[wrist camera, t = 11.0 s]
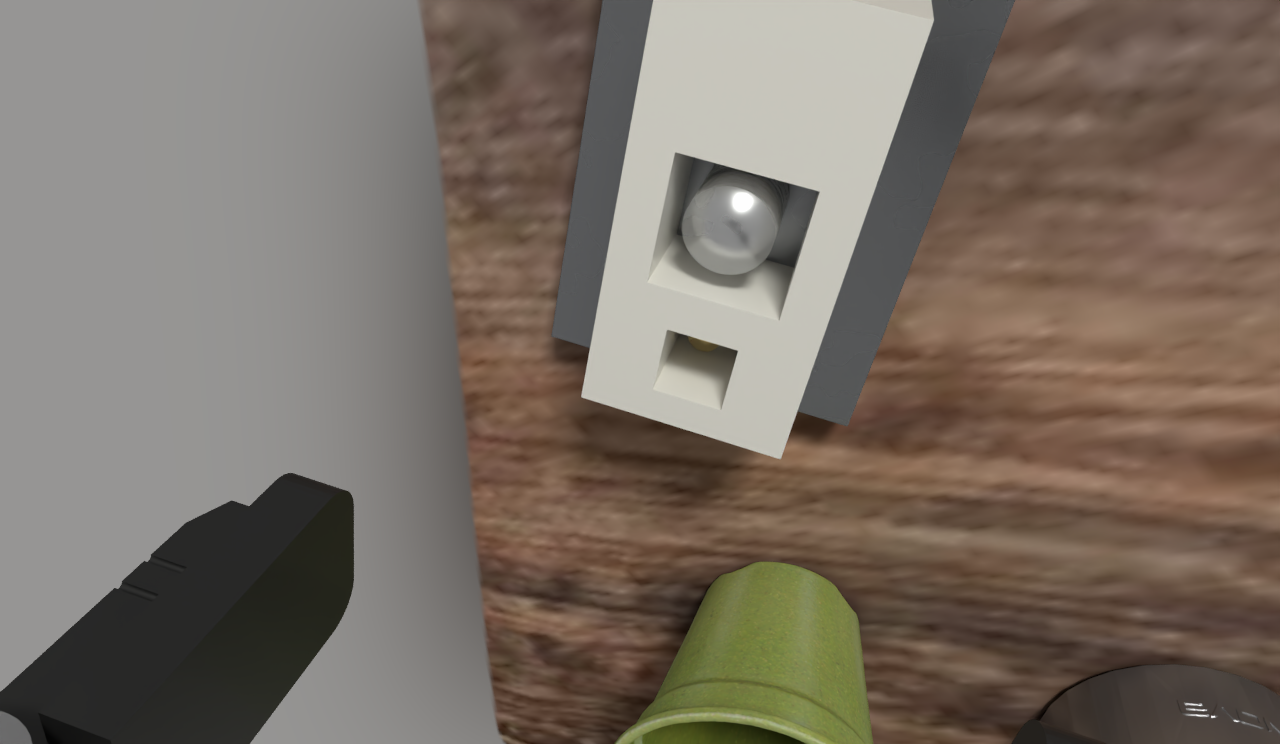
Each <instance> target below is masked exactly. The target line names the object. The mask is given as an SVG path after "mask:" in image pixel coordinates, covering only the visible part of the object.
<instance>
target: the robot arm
mask: <svg viewBox="0 0 1280 744" xmlns="http://www.w3.org/2000/svg"><path fill="white" fill-rule="evenodd" d="M353 505H354V504H353V498H352V495H351V494H350V493H349V492H348V491H345V490H342V489H339V488H336V487H333V486H330V485H327V484H324V483H321V482H318V481H315V480H312V479H309V478H306V477H303V476H300V475H296V474H293V473H288V474H285V475H283V476H281V477H280V478H278V479H277V480H276V481H275V482H274V483H273V484H272V485H271V486H270V487H269V488H268V489H267V490H266V491H265V492H264V493H263V494H261V495H260V496H259V497H258V498H257V500H255V501H254V502H253V503H252V504H251V505H250V506H246V505H243V504H240V503H237V502H234V501H230V502H228V503H226V504H224V505H222V506H220V507H218V508H216V509H213V510H211V511H209V512H207V513H205V514H203V515H201V516H199V517H197V518H195V519H193V520H191V521H189V522H187V523H185V524H184V525H183V526H182V527H181V528H180V529H179V530H178V531H177V532H175V533H174V534H173V535H172V536H171V537H170V538H169V539H168V540H167V541H166V542H165V543H163V544H162V545H161V546H160V547H159V548H158V549H157V550H156V551H155V552H154V553H152V554H151V558H150V560H149V561H148V562H145V561H144V562H143V563H141V564H140V565H139V566H138V567H137V568H136V569H135V570H134V571H133V572H132V573H131V574H130V575H128V576H127V577H126V578H125V579H124V580H123V581H122V585H121V586H120V588H119V589H116V588H114V589H113V590H112V591H111V592H110V593H109V594H108V595H106V596H105V597H104V598H103V599H102V600H101V601H100V602H99V603H98V604H97V605H96V606H94V607H93V608H92V609H91V610H90V611H89V612H88V613H87V614H86V615H85V616H84V617H82V618H81V619H80V620H79V621H78V622H77V623H76V624H75V625H74V626H72V627H71V628H70V629H69V630H68V631H67V632H66V633H65V634H64V635H63V636H62V637H60V638H59V639H58V640H57V641H56V642H55V643H54V644H53V645H52V646H51V647H50V648H48V649H47V650H46V651H45V652H44V653H43V654H42V655H41V656H40V657H39V658H37V659H36V660H35V661H34V662H33V663H32V664H31V665H30V666H29V667H28V668H26V669H25V670H24V671H23V672H22V673H21V674H20V675H19V676H18V677H17V678H15V679H14V680H13V681H12V682H11V683H10V684H9V685H8V686H7V687H6V688H5V689H3V690H2V691H1V692H0V744H250V742H251V741H252V740H253V739H254V737H255V736H256V735H257V733H258V732H259V731H260V729H261V728H262V726H263V725H264V724H265V723H266V721H267V720H268V719H269V717H270V716H271V715H272V713H273V712H274V711H275V709H276V708H277V706H278V705H279V704H280V703H281V701H282V700H283V698H284V697H285V696H286V694H287V693H288V692H289V690H290V689H291V688H292V687H293V685H294V684H295V682H296V681H297V680H298V679H299V677H300V676H301V674H302V673H303V672H304V671H305V669H306V668H307V667H308V665H309V664H310V663H311V661H312V660H313V659H314V657H315V656H316V655H317V653H318V652H319V650H320V649H321V648H322V646H323V645H324V644H325V642H326V641H327V640H328V639H329V637H330V636H331V635H332V633H333V632H334V630H335V629H336V627H337V626H338V624H339V622H340V620H341V619H342V617H343V615H344V612H345V610H346V608H347V605H348V603H349V599H350V596H351V592H352V588H353V581H354V506H353ZM1012 744H1280V696H1279V695H1277V694H1276V693H1274V692H1272V691H1271V690H1269V689H1268V688H1266V687H1265V686H1262V685H1260V684H1258V683H1255V682H1253V681H1250V680H1248V679H1245V678H1243V677H1241V676H1238V675H1235V674H1231V673H1227V672H1223V671H1218V670H1214V669H1210V668H1206V667H1196V666H1186V665H1176V664H1172V665H1143V666H1138V667H1132V668H1126V669H1120V670H1114V671H1111V672H1108V673H1105V674H1102V675H1099V676H1096V677H1093V678H1090V679H1088V680H1086V681H1084V682H1082V683H1080V684H1079V685H1077V686H1075V687H1073V688H1071V689H1069V690H1068V691H1066V692H1065V693H1064V694H1063V695H1062V696H1060V697H1059V698H1058V699H1057V700H1056V701H1055V702H1053V703H1052V704H1051V705H1050V706H1049V708H1048V709H1047V711H1046V712H1045V714H1044V715H1043V717H1042V718H1041V720H1040V721H1038V720H1035V719H1033V720H1030V721H1028V722H1027V723H1026V724H1024V726H1023V727H1022V728H1021V730H1020V731H1019V733H1018V734H1017V736H1016V737H1015V739H1014V740H1013V742H1012Z"/></svg>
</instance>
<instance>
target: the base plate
mask: <svg viewBox="0 0 1280 744" xmlns="http://www.w3.org/2000/svg"><path fill="white" fill-rule="evenodd" d="M931 1H932V9H933V16H934V22H933V25H932V28H931V31H930V33H929V36H928V39H927V42H926V45H925V48H924V51H923V53H922V56H921V59H920V62H919V65H918V68H917V71H916V73H915V76H914V79H913V82H912V85H911V88H910V91H909V93H908V96H907V99H906V102H905V105H904V108H903V111H902V113H901V116H900V119H899V122H898V125H897V128H896V131H895V134H894V136H893V139H892V142H891V145H890V148H889V151H888V154H887V156H886V159H885V162H884V165H883V168H882V171H881V174H880V176H879V179H878V182H877V185H876V188H875V191H874V194H873V196H872V199H871V202H870V205H869V208H868V211H867V214H866V216H865V219H864V222H863V225H862V228H861V231H860V234H859V236H858V239H857V242H856V245H855V248H854V251H853V254H852V257H851V259H850V262H849V265H848V268H847V271H846V274H845V277H844V279H843V282H842V285H841V288H840V291H839V294H838V297H837V299H836V302H835V305H834V308H833V311H832V314H831V317H830V319H829V322H828V325H827V328H826V331H825V334H824V337H823V339H822V342H821V345H820V348H819V351H818V354H817V357H816V360H815V362H814V365H813V368H812V371H811V374H810V377H809V380H808V382H807V385H806V388H805V391H804V394H803V397H802V400H801V402H800V405H799V408H798V412H802V413H805V414H808V415H812V416H815V417H818V418H821V419H825V420H828V421H831V422H835V423H838V424H841V425H844V426H848V424H849V421H850V419H851V416H852V413H853V411H854V408H855V406H856V403H857V401H858V398H859V396H860V393H861V391H862V388H863V385H864V383H865V380H866V378H867V375H868V373H869V370H870V368H871V365H872V363H873V360H874V357H875V355H876V352H877V350H878V347H879V345H880V342H881V340H882V337H883V335H884V332H885V330H886V327H887V324H888V322H889V319H890V317H891V314H892V312H893V309H894V307H895V304H896V302H897V299H898V296H899V294H900V291H901V289H902V286H903V284H904V281H905V279H906V276H907V274H908V271H909V268H910V266H911V263H912V261H913V258H914V256H915V253H916V251H917V248H918V246H919V243H920V241H921V238H922V235H923V233H924V230H925V228H926V225H927V223H928V220H929V218H930V215H931V213H932V210H933V207H934V205H935V202H936V200H937V197H938V195H939V192H940V190H941V187H942V185H943V182H944V180H945V177H946V174H947V172H948V169H949V167H950V164H951V162H952V159H953V157H954V154H955V152H956V149H957V146H958V144H959V141H960V139H961V136H962V134H963V131H964V129H965V126H966V124H967V121H968V118H969V116H970V113H971V111H972V108H973V106H974V103H975V101H976V98H977V96H978V93H979V91H980V88H981V85H982V83H983V80H984V78H985V75H986V73H987V70H988V68H989V65H990V63H991V60H992V57H993V55H994V52H995V50H996V47H997V45H998V42H999V40H1000V37H1001V35H1002V32H1003V29H1004V27H1005V24H1006V22H1007V19H1008V17H1009V14H1010V12H1011V9H1012V7H1013V4H1014V2H1015V0H931ZM652 4H653V0H603V2H602V9H601V15H600V22H599V28H598V35H597V42H596V48H595V55H594V61H593V68H592V74H591V81H590V87H589V94H588V101H587V107H586V114H585V120H584V127H583V133H582V140H581V146H580V153H579V160H578V166H577V173H576V179H575V186H574V192H573V199H572V205H571V212H570V219H569V225H568V232H567V238H566V245H565V251H564V258H563V264H562V271H561V278H560V284H559V291H558V297H557V304H556V310H555V317H554V323H553V330H552V337H555V338H559V339H562V340H565V341H569V342H572V343H575V344H578V345H582V346H585V347H588V348H590V346H591V340H592V335H593V329H594V324H595V318H596V313H597V307H598V302H599V296H600V291H601V285H602V280H603V274H604V269H605V263H606V258H607V252H608V247H609V241H610V236H611V230H612V225H613V219H614V214H615V208H616V203H617V197H618V192H619V186H620V181H621V175H622V170H623V164H624V159H625V153H626V148H627V142H628V137H629V131H630V125H631V120H632V114H633V109H634V103H635V98H636V92H637V87H638V81H639V76H640V70H641V65H642V59H643V54H644V48H645V43H646V37H647V32H648V26H649V21H650V15H651V10H652ZM817 193H818V191H816V190H812V189H808V188H805V187H801V186H797V185H794V184H790V183H786V182H783V181H779V180H775V179H772V178H768V177H764V176H761V175H757V174H753V173H750V172H746V171H742V170H739V169H735V168H731V167H728V166H724V165H720V164H717V163H713V162H709V161H706V160H702V159H698V158H695V157H694V159H693V164H692V168H691V173H690V177H689V181H688V186H687V190H686V195H685V199H684V204H683V208H682V212H681V217H680V221H679V226H678V230H677V235H680V236H683V239H684V243H685V245H686V248H687V249H688V251H689V253H690V254H691V256H692V257H693V258H694V259H695V260H696V261H697V262H698V263H699V264H700V265H702V266H703V267H705V268H706V269H708V270H710V271H713V272H715V273H719V274H724V275H737V274H742V273H746V272H748V271H751V270H753V269H754V268H756V267H758V266H759V265H760V264H761V263H762V262H763V261H764V260H768V261H772V262H775V263H779V264H782V265H786V266H790V267H793V268H794V267H795V263H796V260H797V257H798V254H799V251H800V247H801V244H802V241H803V238H804V235H805V231H806V228H807V225H808V222H809V219H810V215H811V212H812V209H813V206H814V203H815V199H816V196H817ZM688 339H689V342H690V343H691V345H692V346H693V347H694V348H696V349H698V350H700V351H705V352H708V351H712V350H714V349H716V348H717V347H718V346H719V345H717V344H714V343H711V342H707V341H704V340H701V339H697V338H694V337H690V336H688Z"/></svg>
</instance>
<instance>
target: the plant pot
mask: <svg viewBox="0 0 1280 744" xmlns="http://www.w3.org/2000/svg"><path fill="white" fill-rule="evenodd" d="M615 744H873V739H872V731H871V723H870V716H869V708H868V699H867V691H866V683H865V674H864V664H863V655H862V647H861V639H860V630H859V621H858V618H857V615H856V613H855V612H854V611H853V610H852V608H851V607H850V606H849V605H848V603H847V602H846V600H845V599H844V598H843V597H842V595H841V594H840V592H839V591H838V589H837V588H836V586H835V585H833V584H832V583H831V582H830V581H828V580H827V579H825V578H824V577H822V576H820V575H818V574H816V573H814V572H812V571H810V570H807V569H804V568H802V567H798V566H795V565H791V564H786V563H779V562H755V563H752V564H750V565H749V566H746V567H744V568H742V569H739V570H737V571H734V572H732V573H727V574H722V575H721V576H720V577H718V578H717V579H716V580H715V581H714V582H713V583H712V585H711V586H710V588H709V589H708V591H707V592H706V595H705V597H704V599H703V601H702V603H701V605H700V607H699V609H698V611H697V614H696V616H695V618H694V620H693V622H692V625H691V627H690V629H689V631H688V633H687V635H686V637H685V639H684V641H683V643H682V645H681V647H680V649H679V651H678V653H677V655H676V657H675V659H674V661H673V663H672V665H671V667H670V669H669V671H668V673H667V675H666V677H665V679H664V681H663V683H662V686H661V688H660V690H659V692H658V694H657V696H656V698H655V700H654V702H653V703H651V704H650V705H649V706H648V707H647V709H646V710H645V711H644V712H643V713H642V715H641V716H640V718H639V719H638V721H637V723H636V724H635V725H633V726H631V727H630V728H629V729H627V730H626V731H625V732H624V733H623V734H622V735H621V736H620V737H619V738H618V740H617V741H616V742H615Z"/></svg>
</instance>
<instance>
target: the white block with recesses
mask: <svg viewBox="0 0 1280 744" xmlns="http://www.w3.org/2000/svg"><path fill="white" fill-rule="evenodd" d="M933 22H934V16H933V9H932V1H931V0H653V4H652V10H651V15H650V21H649V26H648V32H647V37H646V43H645V48H644V54H643V59H642V65H641V70H640V76H639V81H638V87H637V92H636V98H635V103H634V109H633V114H632V120H631V125H630V131H629V137H628V142H627V148H626V153H625V159H624V164H623V170H622V175H621V181H620V186H619V192H618V197H617V203H616V208H615V214H614V219H613V225H612V230H611V236H610V241H609V247H608V252H607V258H606V263H605V269H604V274H603V280H602V285H601V291H600V296H599V302H598V307H597V313H596V318H595V324H594V329H593V335H592V340H591V346H590V351H589V357H588V362H587V368H586V373H585V379H584V384H583V390H582V395H581V397H582V398H585V399H589V400H592V401H595V402H598V403H601V404H605V405H608V406H611V407H614V408H617V409H621V410H624V411H627V412H630V413H634V414H637V415H640V416H643V417H646V418H650V419H653V420H656V421H659V422H662V423H666V424H669V425H672V426H675V427H678V428H682V429H685V430H688V431H691V432H694V433H698V434H701V435H704V436H707V437H711V438H714V439H717V440H720V441H723V442H727V443H730V444H733V445H736V446H739V447H743V448H746V449H749V450H752V451H755V452H759V453H762V454H765V455H768V456H772V457H775V458H778V459H781V457H782V454H783V451H784V448H785V445H786V442H787V440H788V437H789V434H790V431H791V428H792V425H793V422H794V420H795V417H796V414H797V411H798V408H799V405H800V402H801V400H802V397H803V394H804V391H805V388H806V385H807V382H808V380H809V377H810V374H811V371H812V368H813V365H814V362H815V360H816V357H817V354H818V351H819V348H820V345H821V342H822V339H823V337H824V334H825V331H826V328H827V325H828V322H829V319H830V317H831V314H832V311H833V308H834V305H835V302H836V299H837V297H838V294H839V291H840V288H841V285H842V282H843V279H844V277H845V274H846V271H847V268H848V265H849V262H850V259H851V257H852V254H853V251H854V248H855V245H856V242H857V239H858V236H859V234H860V231H861V228H862V225H863V222H864V219H865V216H866V214H867V211H868V208H869V205H870V202H871V199H872V196H873V194H874V191H875V188H876V185H877V182H878V179H879V176H880V174H881V171H882V168H883V165H884V162H885V159H886V156H887V154H888V151H889V148H890V145H891V142H892V139H893V136H894V134H895V131H896V128H897V125H898V122H899V119H900V116H901V113H902V111H903V108H904V105H905V102H906V99H907V96H908V93H909V91H910V88H911V85H912V82H913V79H914V76H915V73H916V71H917V68H918V65H919V62H920V59H921V56H922V53H923V51H924V48H925V45H926V42H927V39H928V36H929V33H930V31H931V28H932V25H933ZM694 157H695V158H698V159H702V160H706V161H709V162H713V163H717V164H720V165H724V166H728V167H731V168H735V169H739V170H742V171H746V172H750V173H753V174H757V175H761V176H764V177H768V178H772V179H775V180H779V181H783V182H786V183H790V184H794V185H797V186H801V187H805V188H808V189H812V190H816V191H818V193H817V196H816V199H815V203H814V206H813V209H812V212H811V215H810V219H809V222H808V225H807V228H806V231H805V235H804V238H803V241H802V244H801V247H800V251H799V254H798V257H797V260H796V263H795V267H794V268H793V267H790V266H786V265H782V264H779V263H775V262H772V261H768V260H764V261H763V262H762V263H761V264H760V265H759V266H758V267H756V268H754V269H753V270H751V271H748V272H746V273H742V274H737V275H724V274H719V273H715V272H713V271H710V270H708V269H706V268H705V267H703V266H702V265H700V264H699V263H698V262H697V261H696V260H695V259H694V258H693V257H692V256H691V254H690V253H689V251H688V249H687V248H686V245H685V243H684V239H683V236H680V235H677V230H678V226H679V221H680V217H681V212H682V208H683V204H684V199H685V195H686V190H687V186H688V181H689V177H690V173H691V168H692V164H693V159H694ZM688 336H690V337H694V338H697V339H701V340H704V341H707V342H711V343H714V344H717V345H719V346H718V347H717V348H716V349H714V350H712V351H708V352H705V351H700V350H698V349H696V348H694V347H693V346H692V345H691V343H690V342H689V339H688Z"/></svg>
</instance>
